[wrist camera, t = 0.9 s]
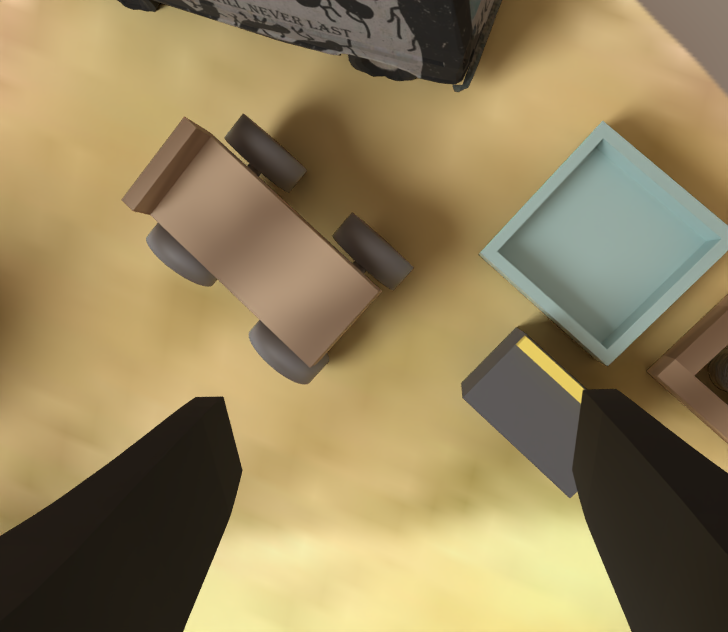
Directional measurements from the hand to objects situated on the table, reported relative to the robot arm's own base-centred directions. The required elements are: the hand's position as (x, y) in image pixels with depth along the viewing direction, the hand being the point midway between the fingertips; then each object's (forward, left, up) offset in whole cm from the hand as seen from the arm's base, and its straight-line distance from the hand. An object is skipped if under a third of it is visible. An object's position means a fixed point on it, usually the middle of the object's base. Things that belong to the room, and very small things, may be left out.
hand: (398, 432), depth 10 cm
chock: (-6, -1, -19) cm, 20 cm away
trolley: (+10, +2, -19) cm, 21 cm away
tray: (-3, -9, -19) cm, 21 cm away
